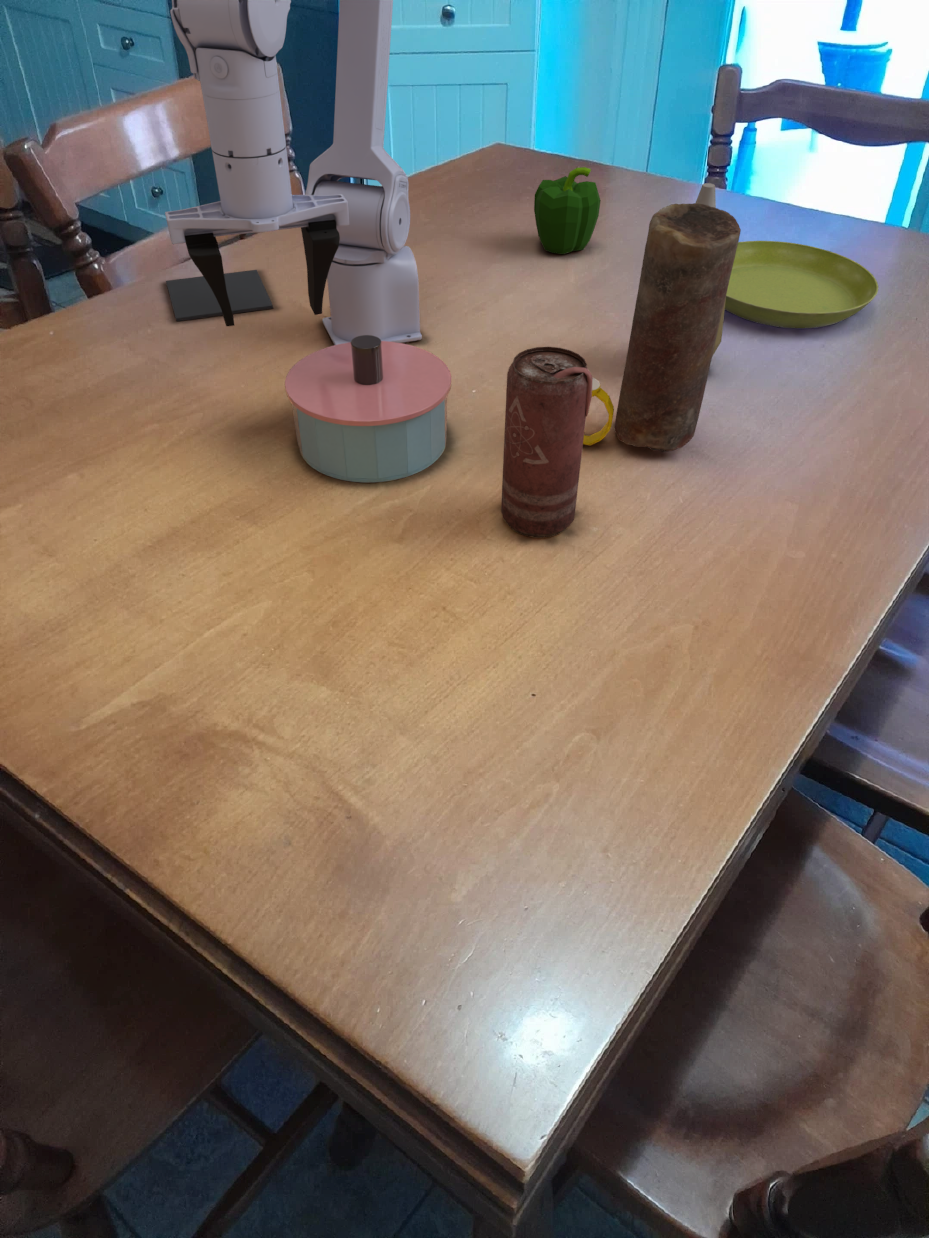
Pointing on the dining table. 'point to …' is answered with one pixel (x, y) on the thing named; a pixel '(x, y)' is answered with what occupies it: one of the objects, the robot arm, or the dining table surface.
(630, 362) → the candle
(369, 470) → the bowl
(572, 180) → the bell pepper
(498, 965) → the dining table surface
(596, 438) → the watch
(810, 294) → the saucer
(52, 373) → the dining table surface
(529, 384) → the can
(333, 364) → the lid
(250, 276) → the mat
